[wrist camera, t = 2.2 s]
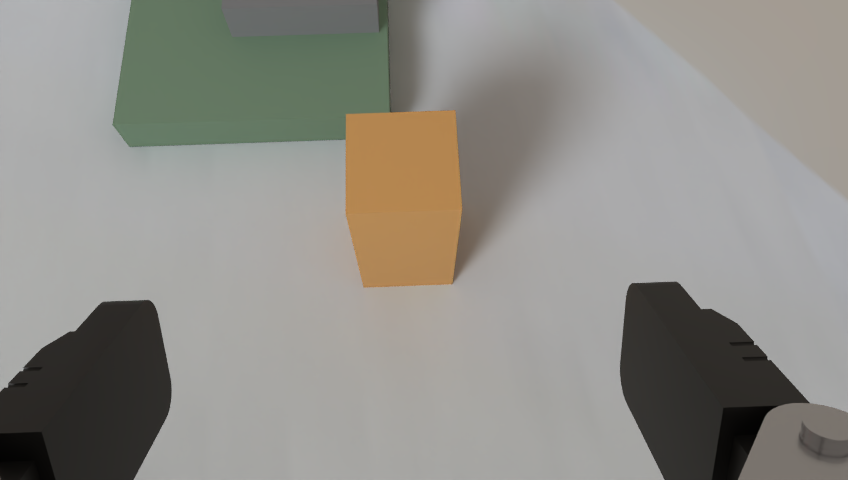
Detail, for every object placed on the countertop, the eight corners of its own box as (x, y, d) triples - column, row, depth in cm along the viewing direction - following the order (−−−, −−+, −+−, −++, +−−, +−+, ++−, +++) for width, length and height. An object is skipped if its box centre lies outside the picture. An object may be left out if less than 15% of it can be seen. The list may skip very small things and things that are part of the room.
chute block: (363, 206, 41) (345, 114, 31) (447, 204, 41) (455, 110, 31) (363, 287, 39) (345, 213, 29) (452, 284, 39) (462, 209, 30)
